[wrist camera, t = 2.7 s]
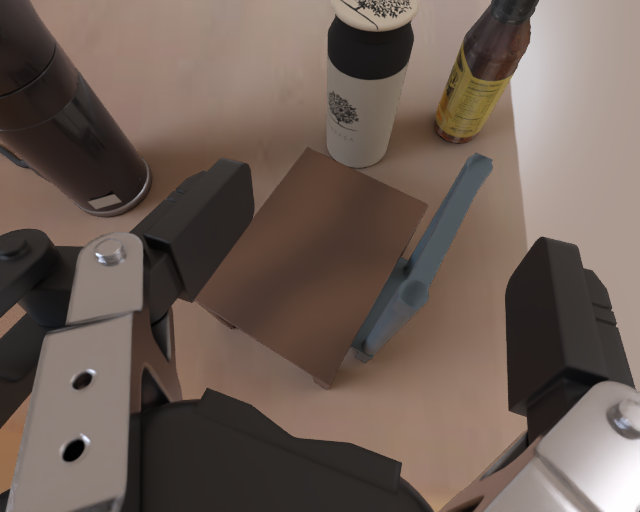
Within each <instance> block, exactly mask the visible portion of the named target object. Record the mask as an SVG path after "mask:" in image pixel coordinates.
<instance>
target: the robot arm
mask: <svg viewBox="0 0 640 512" xmlns="http://www.w3.org/2000/svg"><path fill="white" fill-rule="evenodd" d="M0 141H2V142H3V143H4V144H5V145H6V146H8V147H9V148H10V149H11V150H12V151H14V152H15V153H16V154H17V155H19V156H20V157H21V158H22V160H20V159H18V158H17V157H16V156H14V155H13V154H12V153H11V152H9V151H8V150H7V149H5V148H4V147H2V146H0V152H1V153H2V154H3V155H5V156H6V157H7V158H8V159H10V160H11V161H12V162H14V163H15V164H16V165H18V166H21V167H24V168H30V169H31V170H33V171H34V172H35V173H36V174H38V175H39V176H41V177H42V178H44V179H45V180H47V181H49V182H50V183H52V184H53V185H55V186H56V187H57V188H58V189H60V190H61V191H62V192H63V193H64V194H65V195H67V196H68V197H69V198H70V199H71V200H73V201H74V203H75V204H76V205H77V206H79V207H80V208H81V209H82V210H83V211H85V212H86V213H88V214H91V215H94V216H98V217H110V216H116V215H119V214H122V213H125V212H127V211H129V210H130V209H132V208H134V207H135V206H136V205H138V204H139V203H140V202H141V201H142V200H143V199H144V197H145V196H146V195H147V193H148V191H149V189H150V186H151V182H152V173H151V170H150V168H149V166H148V164H147V163H146V162H145V160H144V159H143V158H142V157H141V156H140V155H139V153H138V152H137V151H136V149H135V148H134V147H133V145H132V144H131V142H130V141H129V140H128V138H127V137H126V135H125V134H124V133H123V131H122V130H121V129H120V127H119V126H118V124H117V123H116V122H115V120H114V119H113V118H112V116H111V115H110V113H109V112H108V111H107V109H106V108H105V107H104V105H103V104H102V102H101V101H100V100H99V98H98V97H97V96H96V94H95V93H94V91H93V90H92V89H91V87H90V86H89V85H88V83H87V82H86V80H85V79H84V78H83V76H82V75H81V74H80V72H79V71H78V69H77V68H76V67H75V66H74V64H73V63H72V61H71V60H70V59H69V57H68V56H67V55H66V53H65V52H64V50H63V49H62V48H61V46H60V45H59V44H58V42H57V41H56V40H55V38H54V37H53V36H52V34H51V33H50V31H49V30H48V28H47V27H46V26H45V24H44V23H43V21H42V20H41V19H40V17H39V15H38V14H37V12H36V10H35V9H34V7H33V5H32V3H31V1H30V0H0ZM253 214H254V197H253V188H252V178H251V170H250V167H249V165H248V164H246V163H242V162H238V161H234V160H230V159H226V158H221V159H220V160H218V161H217V162H216V163H215V164H214V165H213V166H212V167H211V168H210V169H209V170H208V171H202V172H200V173H197V174H195V175H193V176H191V177H189V178H187V179H186V180H185V181H184V182H183V183H182V184H181V185H180V186H179V187H178V188H177V189H176V191H173V192H172V193H171V194H170V195H169V196H168V197H167V200H164V201H163V202H162V203H160V204H159V205H158V206H157V207H156V208H155V209H154V210H153V211H152V212H151V213H150V214H149V215H148V216H147V217H145V218H144V219H143V220H142V221H141V222H140V223H139V224H138V225H137V226H136V227H135V228H134V229H133V230H132V231H130V232H129V233H127V232H114V233H109V234H105V235H102V236H100V237H97V238H95V239H94V240H92V241H90V242H89V243H88V244H87V245H85V246H84V247H74V246H54V244H53V243H52V242H51V240H50V239H49V237H48V236H47V235H46V234H45V233H44V232H42V231H40V230H37V229H21V230H15V231H12V232H9V233H6V234H3V235H1V236H0V318H1V317H2V316H3V315H4V314H5V313H6V312H7V311H8V310H9V309H11V308H12V307H13V306H14V305H15V304H16V303H18V304H19V305H20V306H21V307H22V308H23V309H24V310H25V311H26V312H27V313H26V314H25V315H24V316H23V317H22V318H21V319H20V320H19V321H18V322H17V323H16V324H15V325H14V326H13V327H12V328H11V329H10V330H9V331H8V332H7V333H6V334H5V335H4V336H3V337H2V338H0V429H1V427H2V426H3V425H4V424H5V423H6V421H7V420H8V419H9V418H10V417H11V416H12V414H13V413H14V412H15V411H16V410H17V409H18V407H19V406H20V405H21V404H22V403H23V402H24V400H25V399H26V398H27V397H28V396H29V395H30V393H31V392H32V394H31V398H30V403H29V408H28V412H27V417H26V421H25V426H24V430H23V435H22V439H21V444H20V448H19V453H18V458H17V462H16V467H15V471H14V476H13V480H12V485H11V488H10V489H9V490H7V491H5V492H3V493H1V494H0V512H434V511H433V509H432V508H431V506H430V505H429V504H428V503H427V502H426V500H425V499H424V498H423V497H422V496H421V495H420V493H419V492H418V491H417V490H416V489H415V488H413V487H412V486H411V485H410V484H409V483H408V482H407V481H406V480H404V479H403V478H402V477H400V472H401V466H402V463H401V462H398V461H396V460H393V459H391V458H388V457H385V456H383V455H380V454H378V453H375V452H372V451H370V450H367V449H365V448H362V447H359V446H357V445H354V444H352V443H346V442H335V441H324V440H313V439H302V438H296V437H293V436H291V435H290V434H288V433H287V432H286V431H284V430H283V429H282V428H281V427H279V426H278V425H277V424H275V423H274V422H273V421H271V420H270V419H269V418H268V417H266V416H265V415H264V414H262V413H261V412H260V411H258V410H257V409H256V408H255V407H253V406H252V405H250V404H248V403H245V402H243V401H240V400H237V399H235V398H232V397H230V396H227V395H224V394H222V393H219V392H217V391H214V390H211V389H209V388H207V389H206V391H205V392H204V394H203V396H202V398H201V399H193V400H183V399H182V392H181V387H180V383H179V380H178V376H177V371H176V359H175V342H174V324H173V310H172V307H171V305H172V304H173V303H174V302H175V300H176V299H177V298H179V299H182V300H185V301H188V302H191V303H192V302H193V301H194V300H195V298H196V297H197V296H198V294H199V293H200V291H201V290H202V289H203V287H204V286H205V285H206V283H207V282H208V281H209V279H210V278H211V276H212V275H213V274H214V272H215V271H216V270H217V268H218V267H219V266H220V264H221V263H222V261H223V260H224V259H225V257H226V256H227V255H228V253H229V252H230V251H231V249H232V248H233V246H234V245H235V244H236V242H237V241H238V240H239V238H240V237H241V236H242V234H243V233H244V231H245V230H246V229H247V227H248V226H249V224H250V223H251V221H252V218H253ZM505 308H506V341H507V373H508V406H509V411H510V412H513V413H516V414H519V415H522V416H525V417H527V425H528V429H527V430H526V431H524V432H523V433H522V434H521V435H520V436H519V437H518V438H517V439H516V440H515V441H514V442H513V443H512V444H511V445H510V446H509V447H508V448H506V449H505V450H504V451H503V452H502V453H501V454H500V455H499V456H498V457H497V458H496V459H495V460H494V461H493V462H492V463H491V464H490V465H489V466H488V467H487V468H486V469H485V470H484V471H483V472H482V473H481V474H480V475H479V476H478V477H477V478H476V479H475V480H474V481H473V482H472V483H471V484H470V485H469V486H467V487H466V488H465V489H464V490H462V491H461V492H460V493H458V494H457V495H456V496H455V497H454V498H453V499H451V500H450V501H449V502H448V503H447V504H446V505H445V506H444V507H443V508H442V509H441V510H440V511H439V512H640V392H639V391H637V390H636V388H635V385H634V382H633V378H632V375H631V371H630V368H629V364H628V361H627V358H626V354H625V351H624V347H623V344H622V341H621V337H620V333H619V330H618V328H617V327H616V324H617V323H616V319H615V316H614V312H612V311H611V309H612V305H611V302H610V299H609V295H608V292H607V289H606V288H605V286H604V285H603V284H602V282H601V281H600V280H599V278H598V277H597V276H596V275H595V273H594V272H593V271H592V270H588V269H584V268H583V265H582V261H581V257H580V253H579V249H578V247H577V246H576V245H574V244H570V243H566V242H562V241H558V240H554V239H550V238H546V237H540V238H539V239H538V240H537V241H536V242H535V243H534V244H533V246H532V247H531V249H530V250H529V252H528V253H527V254H526V256H525V257H524V259H523V260H522V262H521V263H520V264H519V266H518V267H517V269H516V270H515V271H514V273H513V274H512V276H511V278H510V280H509V282H508V285H507V288H506V293H505Z"/></svg>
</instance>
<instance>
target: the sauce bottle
mask: <svg viewBox="0 0 640 512" xmlns="http://www.w3.org/2000/svg"><path fill="white" fill-rule="evenodd" d="M538 2H539V0H492V1H491V4H490V6H489V7H488V8H487V10H486V11H485V12H484V13H483V15H482V16H481V17H480V18H479V20H478V21H477V22H476V23H475V24H474V25H473V27H472V28H471V29H470V30H469V31H468V32H467V34H466V35H465V37H464V40H463V42H462V45H461V48H460V50H459V53H458V56H457V58H456V61H455V63H454V66H453V68H452V71H451V74H450V77H449V79H448V82H447V84H446V87H445V90H444V92H443V95H442V98H441V100H440V103H439V106H438V108H437V111H436V117H435V129H436V132H437V133H438V134H439V135H440V136H441V137H442V138H444V139H445V140H447V141H450V142H453V143H466V142H468V141H470V140H472V139H473V138H474V137H475V136H476V135H477V134H478V133H479V131H480V130H481V129H482V127H483V126H484V124H485V122H486V120H487V119H488V117H489V115H490V114H491V112H492V110H493V109H494V107H495V105H496V103H497V102H498V100H499V98H500V96H501V95H502V93H503V91H504V90H505V88H506V86H507V84H508V83H509V81H510V79H511V77H512V76H513V74H514V72H515V70H516V68H517V66H518V63H519V61H520V59H521V58H522V56H523V54H524V53H525V52H526V49H527V47H528V45H529V43H530V35H531V32H530V28H531V26H530V17H531V16H532V15H533V13H534V12H535V7H536V5H537V3H538Z"/></svg>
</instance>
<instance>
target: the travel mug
mask: <svg viewBox="0 0 640 512" xmlns="http://www.w3.org/2000/svg"><path fill="white" fill-rule="evenodd" d="M331 5H332V9H333V11H334V13H335V19H334V21H333V22H332V24H331V26H330V28H329V31H328V61H327V149H328V151H329V153H330V155H331V156H332V157H333V158H334V159H335V160H336V161H338V162H340V163H342V164H344V165H346V166H349V167H356V168H361V167H367V166H370V165H373V164H375V163H377V162H378V161H379V160H381V159H382V158H383V156H384V155H385V153H386V151H387V147H388V143H389V139H390V135H391V131H392V127H393V123H394V119H395V115H396V111H397V107H398V103H399V99H400V95H401V91H402V86H403V82H404V78H405V74H406V70H407V66H408V62H409V58H410V54H411V50H412V46H413V42H414V35H413V31H412V27H411V24H410V23H411V21H412V19H413V18H414V17H415V15H416V14H417V12H418V9H419V5H420V0H331Z"/></svg>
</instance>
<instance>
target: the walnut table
mask: <svg viewBox="0 0 640 512" xmlns="http://www.w3.org/2000/svg"><path fill="white" fill-rule="evenodd" d="M427 207H428V204H426V203H424V202H421V201H419V200H417V199H415V198H413V197H411V196H409V195H407V194H405V193H403V192H400V191H398V190H396V189H394V188H392V187H390V186H388V185H386V184H384V183H382V182H379V181H377V180H375V179H373V178H371V177H369V176H367V175H365V174H363V173H361V172H358V171H356V170H354V169H352V168H350V167H348V166H346V165H344V164H342V163H340V162H337V161H335V160H333V159H331V158H329V157H327V156H325V155H323V154H321V153H319V152H316V151H314V150H312V149H310V148H308V147H307V149H306V150H305V151H304V153H303V154H302V155H301V156H300V158H299V159H298V160H297V162H296V163H295V164H294V166H293V167H292V168H291V169H290V171H289V172H288V173H287V175H286V176H285V177H284V179H283V180H282V181H281V182H280V184H279V185H278V186H277V188H276V189H275V190H274V192H273V193H272V194H271V195H270V197H269V198H268V199H267V201H266V202H265V203H264V205H263V206H262V207H261V208H260V210H259V211H258V212H257V214H256V215H255V216H254V218H253V219H252V221H251V223H250V224H249V226H248V227H247V229H246V230H245V231H244V233H243V234H242V236H241V237H240V238H239V240H238V241H237V242H236V244H235V245H234V246H233V248H232V249H231V251H230V252H229V253H228V255H227V256H226V257H225V259H224V260H223V261H222V263H221V264H220V266H219V267H218V268H217V270H216V271H215V272H214V274H213V275H212V276H211V278H210V279H209V281H208V282H207V283H206V285H205V286H204V287H203V289H202V290H201V291H200V293H199V294H198V296H197V297H196V298H195V301H196V302H197V303H198V304H199V305H201V306H202V307H203V308H204V309H205V310H207V311H208V312H209V313H210V314H212V315H213V316H214V317H215V318H216V319H218V320H219V321H220V322H221V323H223V324H224V325H226V326H227V327H229V328H231V329H233V328H234V326H235V327H237V328H238V329H240V330H241V331H243V332H245V333H246V334H248V335H249V336H251V337H252V338H254V339H256V340H257V341H259V342H260V343H262V344H263V345H265V346H267V347H268V348H270V349H271V350H273V351H274V352H276V353H278V354H279V355H281V356H282V357H284V358H285V359H287V360H289V361H290V362H292V363H293V364H295V365H297V366H298V367H300V368H301V369H303V370H304V371H306V372H308V373H309V374H311V375H312V376H313V379H314V382H315V383H317V384H318V385H320V386H321V387H323V388H324V389H326V390H328V388H329V387H330V385H331V383H332V381H333V379H334V377H335V375H336V373H337V370H338V368H339V366H340V364H341V363H342V361H343V359H344V357H345V355H346V354H347V352H348V350H349V348H350V346H351V345H352V343H353V341H354V339H355V337H356V335H357V334H358V332H359V330H360V328H361V326H362V325H363V323H364V321H365V319H366V317H367V316H368V314H369V312H370V310H371V308H372V307H373V305H374V303H375V301H376V299H377V298H378V296H379V294H380V292H381V290H382V289H383V287H384V285H385V283H386V281H387V280H388V278H389V276H390V274H391V272H392V271H393V269H394V267H395V265H396V263H397V262H398V260H399V258H400V256H402V254H403V253H404V251H405V249H406V247H407V245H408V243H409V242H410V240H411V238H412V236H413V234H414V232H415V230H416V228H417V226H418V224H419V222H420V221H421V219H422V217H423V215H424V213H425V211H426V209H427Z"/></svg>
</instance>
